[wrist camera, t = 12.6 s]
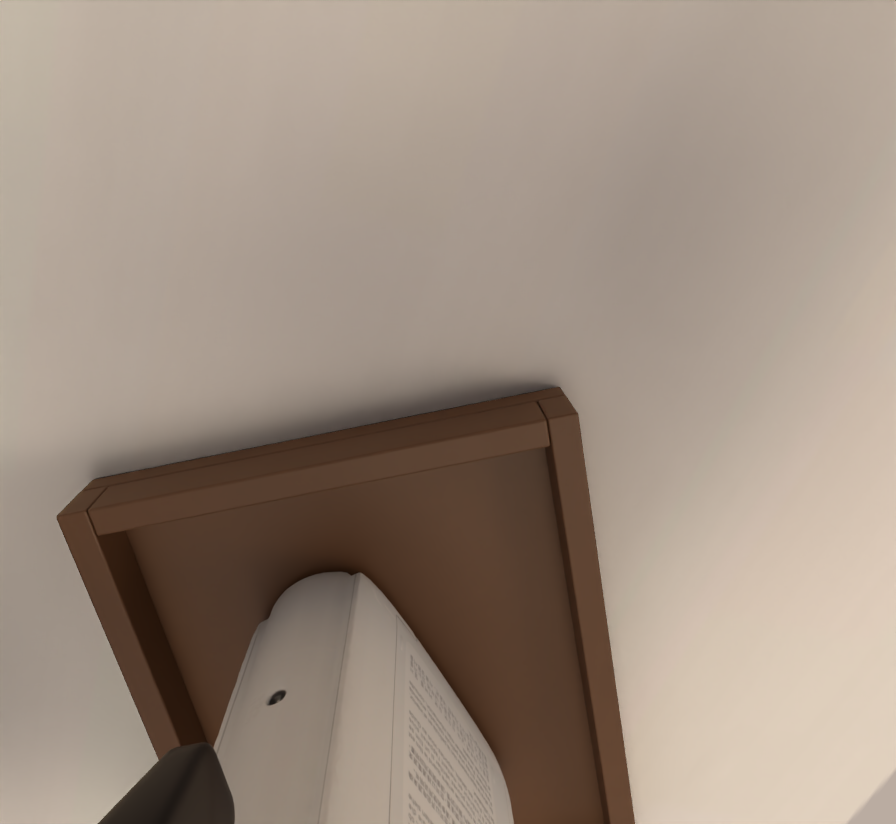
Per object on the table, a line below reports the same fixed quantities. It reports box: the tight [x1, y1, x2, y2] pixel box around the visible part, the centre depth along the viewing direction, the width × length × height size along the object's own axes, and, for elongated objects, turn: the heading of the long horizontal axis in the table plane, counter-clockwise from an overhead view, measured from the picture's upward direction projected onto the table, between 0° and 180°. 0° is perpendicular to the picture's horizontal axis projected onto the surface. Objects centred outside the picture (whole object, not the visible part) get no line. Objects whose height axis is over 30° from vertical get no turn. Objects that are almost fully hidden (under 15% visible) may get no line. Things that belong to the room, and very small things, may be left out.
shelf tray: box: [57, 387, 635, 824], centre depth 22 cm, size 14×18×2 cm
